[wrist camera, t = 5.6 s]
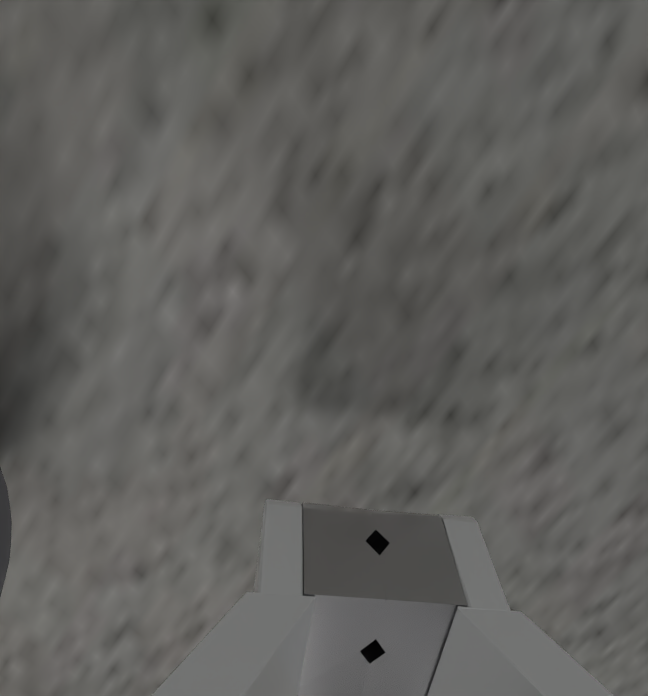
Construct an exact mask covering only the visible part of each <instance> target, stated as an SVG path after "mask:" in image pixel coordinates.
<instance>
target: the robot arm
mask: <svg viewBox="0 0 648 696" xmlns="http://www.w3.org/2000/svg"><path fill="white" fill-rule="evenodd" d="M151 696H614V695H613V694H612V693H611V692H610V691H609V690H608V689H606V688H605V687H604V686H603V685H602V684H601V683H600V682H599V681H598V680H596V679H595V678H594V677H593V676H592V675H591V674H590V673H589V672H588V671H587V670H585V669H584V668H583V667H582V666H581V665H580V664H579V663H578V662H577V661H576V660H574V659H573V658H572V657H571V656H570V655H569V654H568V653H567V652H566V651H565V650H563V649H562V648H561V647H560V646H559V645H558V644H557V643H556V642H555V641H554V640H552V639H551V638H550V637H549V636H548V635H547V634H546V633H545V632H544V631H542V630H541V629H540V628H539V627H538V626H537V625H536V624H535V623H534V622H533V621H531V620H530V619H529V618H528V617H527V616H526V615H525V614H524V613H523V612H521V611H511V610H510V607H509V605H508V602H507V599H506V597H505V594H504V591H503V589H502V586H501V583H500V581H499V578H498V575H497V573H496V570H495V567H494V565H493V562H492V559H491V557H490V554H489V551H488V549H487V546H486V543H485V541H484V538H483V535H482V533H481V530H480V527H479V525H478V522H477V521H476V520H475V519H474V518H473V517H471V516H456V515H441V514H438V515H432V514H419V513H406V512H393V511H381V510H369V509H359V508H350V507H341V506H332V505H323V504H314V503H304V502H302V504H300V503H299V502H289V501H280V500H271V499H266V500H265V504H264V511H263V519H262V527H261V534H260V542H259V550H258V558H257V566H256V574H255V583H254V591H253V592H246V593H245V594H244V595H243V596H242V597H241V598H240V599H239V600H238V601H237V603H236V604H235V605H234V606H233V607H232V608H231V609H230V610H229V611H228V612H227V613H226V615H225V616H224V617H223V618H222V619H221V620H220V621H219V622H218V623H217V624H216V625H215V627H214V628H213V629H212V630H211V631H210V632H209V633H208V634H207V635H206V636H205V637H204V639H203V640H202V641H201V642H200V643H199V644H198V645H197V646H196V647H195V648H194V649H193V651H192V652H191V653H190V654H189V655H188V656H187V657H186V658H185V659H184V660H183V661H182V663H181V664H180V665H179V666H178V667H177V668H176V669H175V670H174V671H173V672H172V673H171V675H170V676H169V677H168V678H167V679H166V680H165V681H164V682H163V683H162V684H161V685H160V687H159V688H158V689H157V690H156V691H155V692H154V693H153V694H152V695H151Z"/></svg>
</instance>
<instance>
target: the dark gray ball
mask: <svg viewBox="0 0 648 696" xmlns="http://www.w3.org/2000/svg"><path fill="white" fill-rule="evenodd" d="M11 524H12V521H11V513H10V504H9V498H8V491H7V486H6V483H5V480H4V477H3V474H2V471H1V468H0V596H1V592H2V589H3V585H4V581H5V577H6V573H7V568H8V564H9V558H10V547H11Z"/></svg>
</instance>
